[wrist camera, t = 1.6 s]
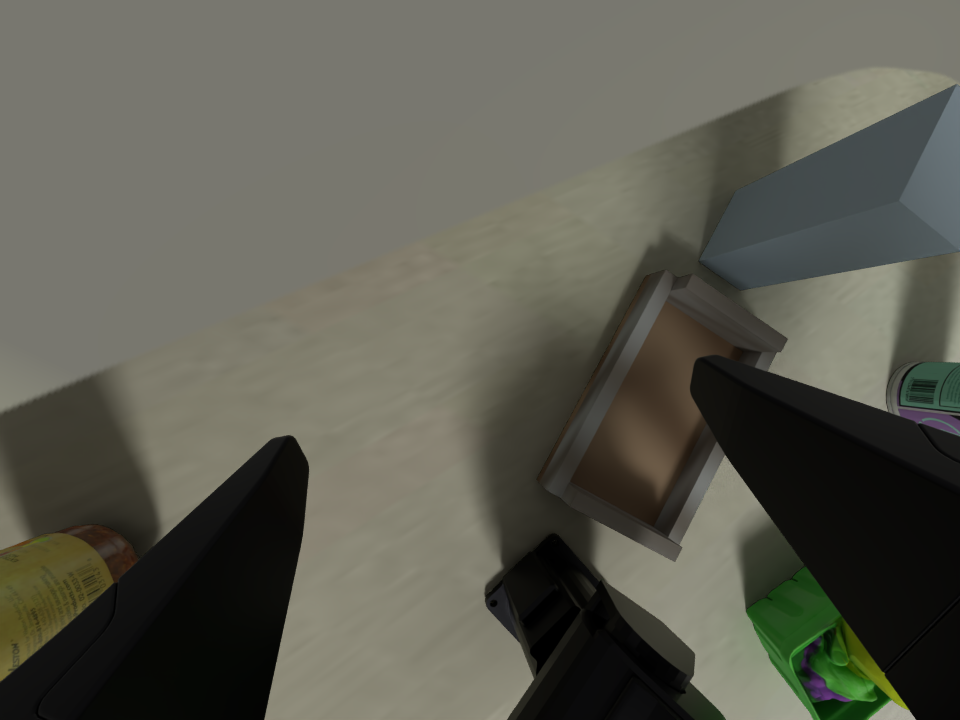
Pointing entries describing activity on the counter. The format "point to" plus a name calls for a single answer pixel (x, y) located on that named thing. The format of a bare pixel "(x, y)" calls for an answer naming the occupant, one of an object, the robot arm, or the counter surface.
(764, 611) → the fruit basket
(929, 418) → the spray can
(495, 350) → the counter surface
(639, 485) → the shallow grey tray
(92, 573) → the sauce bottle
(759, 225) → the blue-grey rectangular block
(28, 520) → the counter surface
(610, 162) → the counter surface
